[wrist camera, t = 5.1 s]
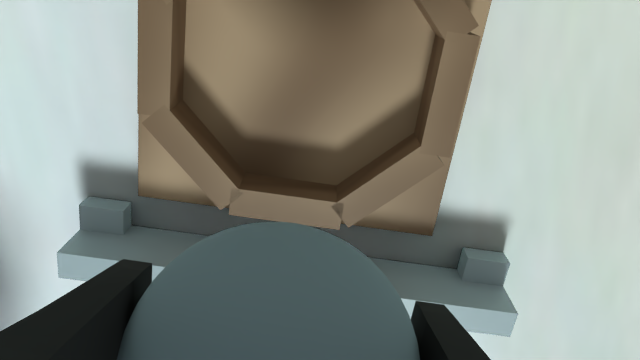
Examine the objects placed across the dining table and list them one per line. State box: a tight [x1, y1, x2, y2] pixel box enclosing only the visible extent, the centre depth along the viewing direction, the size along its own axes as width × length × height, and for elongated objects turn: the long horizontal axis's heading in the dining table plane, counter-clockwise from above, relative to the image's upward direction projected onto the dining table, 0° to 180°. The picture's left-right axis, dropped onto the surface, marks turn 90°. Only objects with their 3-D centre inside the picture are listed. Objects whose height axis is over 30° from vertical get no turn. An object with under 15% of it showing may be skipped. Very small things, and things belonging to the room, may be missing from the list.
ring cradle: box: [138, 0, 492, 236], centre depth 16 cm, size 11×11×2 cm
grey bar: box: [57, 196, 518, 337], centre depth 19 cm, size 16×3×2 cm, turn 82°
